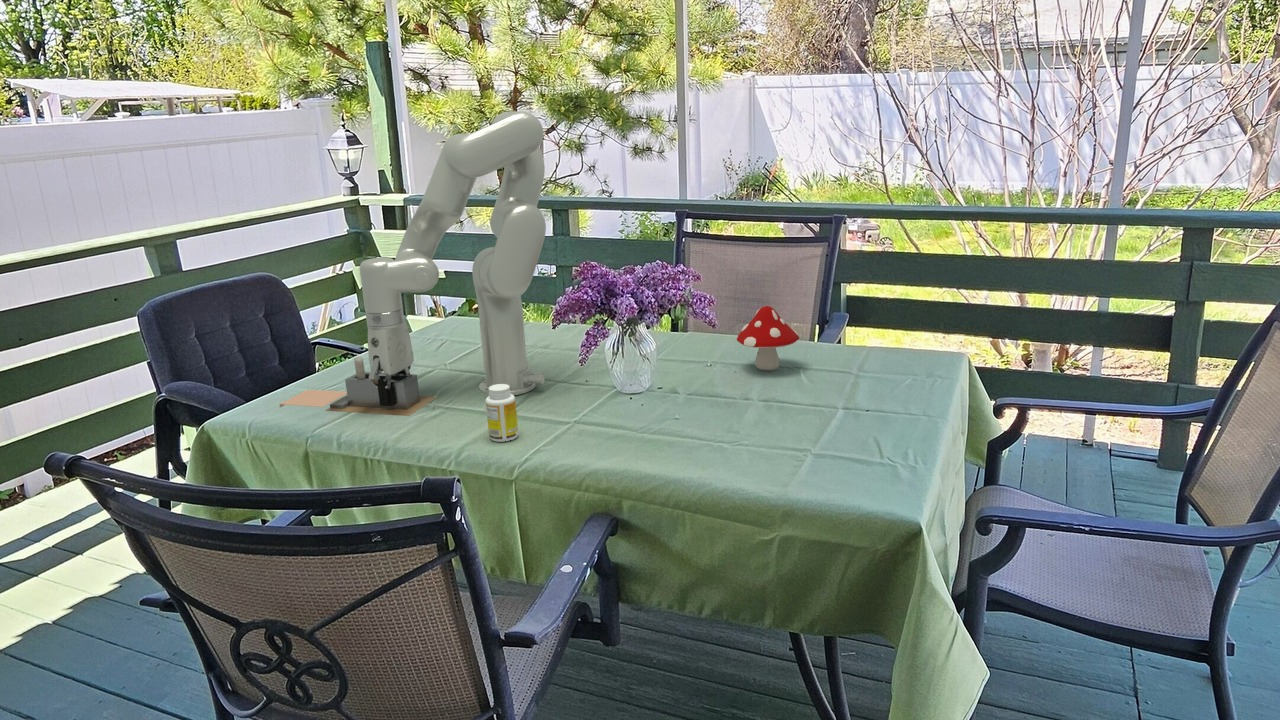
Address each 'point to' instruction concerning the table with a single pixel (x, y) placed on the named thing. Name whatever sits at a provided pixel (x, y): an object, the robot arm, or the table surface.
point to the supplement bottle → (501, 413)
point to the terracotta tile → (314, 398)
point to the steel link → (367, 394)
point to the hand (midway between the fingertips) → (395, 399)
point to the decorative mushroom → (767, 337)
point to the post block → (344, 406)
